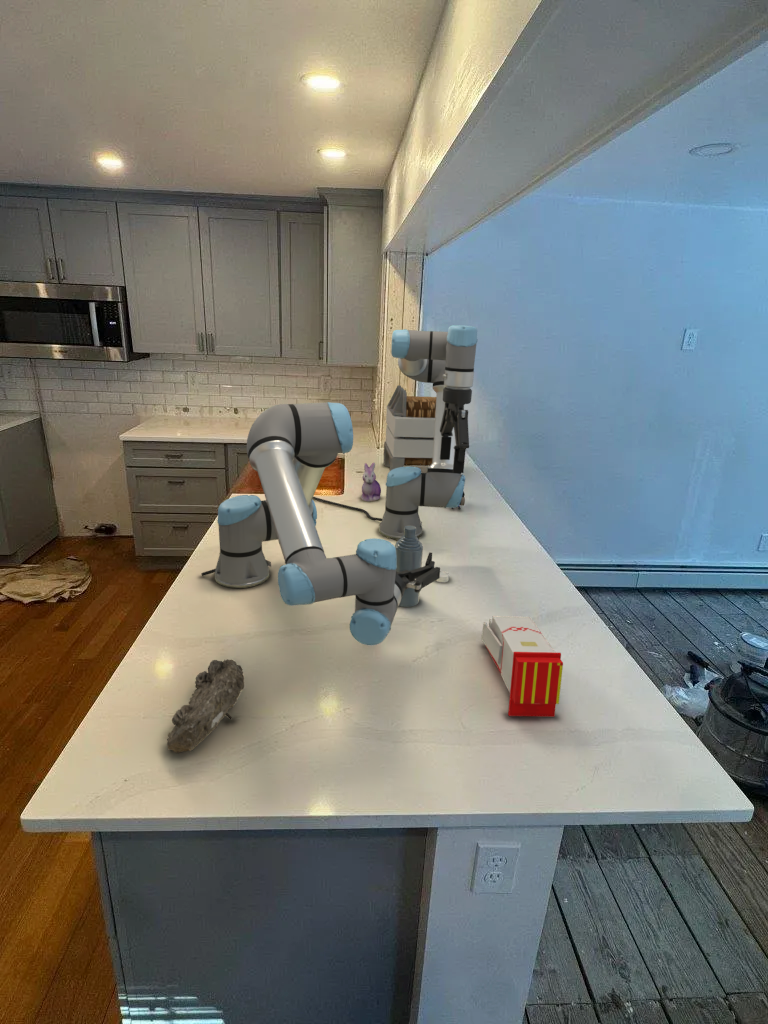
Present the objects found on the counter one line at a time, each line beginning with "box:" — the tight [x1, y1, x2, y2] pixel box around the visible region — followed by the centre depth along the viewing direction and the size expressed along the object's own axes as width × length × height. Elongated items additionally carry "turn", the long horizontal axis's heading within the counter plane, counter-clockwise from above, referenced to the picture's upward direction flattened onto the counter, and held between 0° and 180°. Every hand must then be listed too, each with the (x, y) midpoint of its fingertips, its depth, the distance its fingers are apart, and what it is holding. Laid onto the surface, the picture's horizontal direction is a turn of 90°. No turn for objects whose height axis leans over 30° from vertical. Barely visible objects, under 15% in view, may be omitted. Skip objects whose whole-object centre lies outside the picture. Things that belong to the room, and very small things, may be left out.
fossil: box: [166, 658, 245, 754], centre depth 106 cm, size 22×10×15 cm
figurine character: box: [451, 490, 466, 510], centre depth 230 cm, size 7×8×15 cm
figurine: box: [360, 462, 382, 502], centre depth 233 cm, size 9×10×15 cm
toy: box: [481, 615, 564, 718], centre depth 123 cm, size 12×13×30 cm
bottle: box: [394, 526, 424, 608], centre depth 151 cm, size 7×7×21 cm
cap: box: [435, 570, 450, 583], centre depth 167 cm, size 4×4×2 cm
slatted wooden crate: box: [383, 384, 436, 472], centre depth 268 cm, size 34×33×41 cm
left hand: (403, 553), depth 140 cm, fingers open, 13 cm apart
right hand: (451, 465), depth 156 cm, fingers open, 13 cm apart
